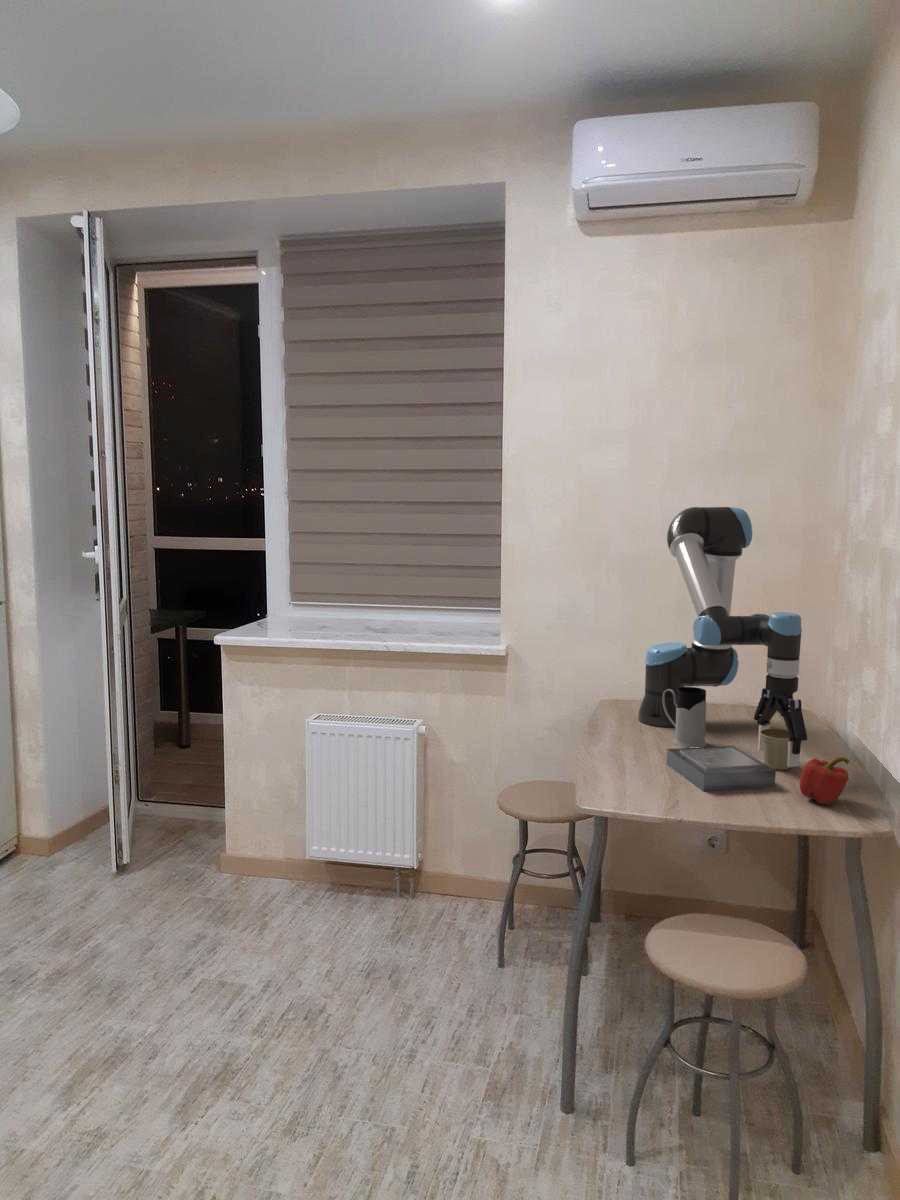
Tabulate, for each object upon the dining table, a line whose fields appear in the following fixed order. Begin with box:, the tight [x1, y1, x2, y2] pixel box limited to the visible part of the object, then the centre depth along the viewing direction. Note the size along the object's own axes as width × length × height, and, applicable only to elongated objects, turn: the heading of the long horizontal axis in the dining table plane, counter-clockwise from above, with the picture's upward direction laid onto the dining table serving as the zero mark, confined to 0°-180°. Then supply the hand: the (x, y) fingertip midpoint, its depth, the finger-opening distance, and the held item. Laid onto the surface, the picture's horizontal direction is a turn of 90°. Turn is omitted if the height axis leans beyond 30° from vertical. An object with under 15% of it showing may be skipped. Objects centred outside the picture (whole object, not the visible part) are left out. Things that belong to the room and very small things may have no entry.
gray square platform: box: [666, 745, 777, 792], centre depth 209 cm, size 20×18×4 cm
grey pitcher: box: [662, 686, 707, 748], centre depth 237 cm, size 9×14×15 cm, turn 36°
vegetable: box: [799, 756, 851, 805], centre depth 192 cm, size 11×10×10 cm
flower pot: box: [758, 727, 795, 771], centre depth 216 cm, size 9×9×9 cm
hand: (777, 757), depth 216 cm, fingers open, 13 cm apart
